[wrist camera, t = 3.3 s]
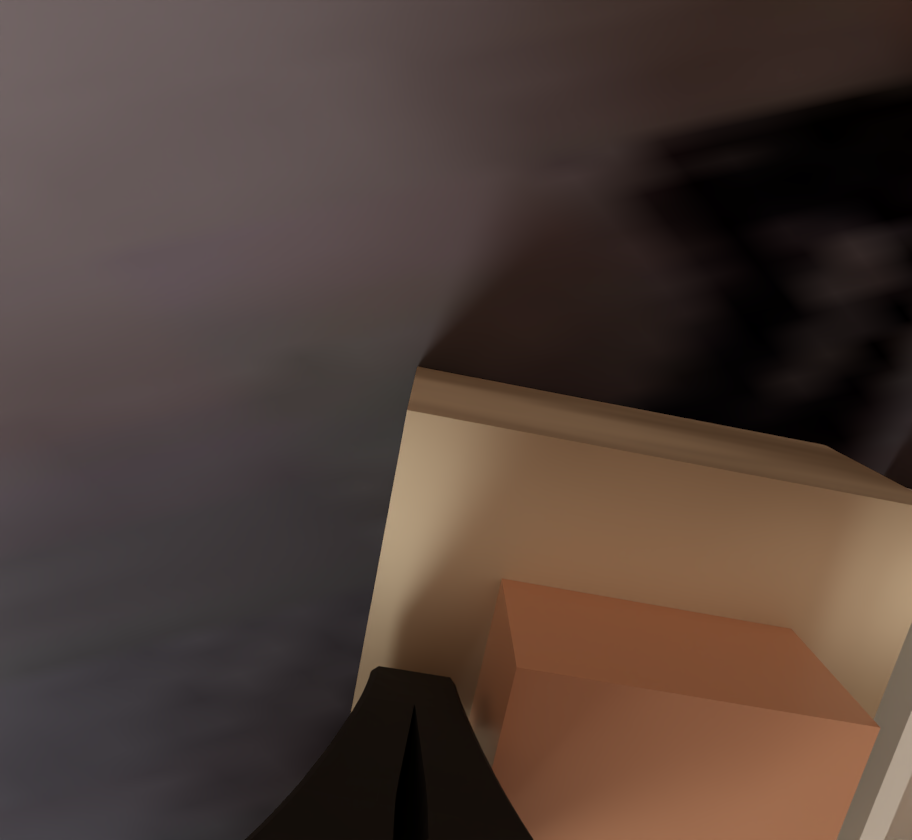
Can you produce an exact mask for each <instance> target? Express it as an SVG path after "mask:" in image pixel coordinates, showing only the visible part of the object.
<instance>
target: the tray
mask: <svg viewBox="0 0 912 840" xmlns="http://www.w3.org/2000/svg"><path fill="white" fill-rule="evenodd" d="M907 489H909V488H907ZM909 490H911V491H912V489H909ZM874 721H875V722H876V723H877V724H878V725H879V727H880V731H879V733H878V736H877V738H876V741H875V743H874V746H873V748H872V751H871V753H870V756H869V759H868V761H867V764H866V766H865V769H864V771H863V774H862V776H861V779H860V781H859V784H858V786H857V789H856V791H855V794H854V797H853V799H852V802H851V804H850V807H849V809H848V812H847V814H846V817H845V819H844V822H843V824H842V827H841V829H840V832H839V835H838V837H837V840H912V623H911V626H910V628H909V631H908V633H907V636H906V638H905V641H904V643H903V646H902V649H901V651H900V654H899V656H898V659H897V661H896V664H895V666H894V669H893V672H892V674H891V677H890V679H889V682H888V684H887V687H886V689H885V692H884V695H883V697H882V700H881V702H880V705H879V707H878V710H877V712H876V715H875V718H874Z"/></svg>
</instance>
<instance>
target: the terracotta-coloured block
mask: <svg viewBox="0 0 912 840" xmlns="http://www.w3.org/2000/svg"><path fill="white" fill-rule="evenodd" d="M469 722H470V724H471V726H472V729H473V731H474V733H475V735H476V738H477V740H478V742H479V744H480V746H481V748H482V750H483V752H484V754H485V756H486V758H487V760H488V762H489V764H490V766H491V768H492V770H493V772H494V774H495V776H496V777H497V779H498V781H499V783H500V785H501V787H502V788H503V790H504V792H505V794H506V795H507V797H508V799H509V801H510V802H511V804H512V806H513V807H514V809H515V811H516V812H517V814H518V816H519V817H520V819H521V821H522V822H523V824H524V825H525V827H526V828H527V830H528V832H529V833H530V835H531V836H532V838H533V839H534V840H837V837H838V835H839V832H840V829H841V827H842V824H843V822H844V819H845V817H846V814H847V812H848V809H849V807H850V804H851V802H852V799H853V797H854V794H855V791H856V789H857V786H858V784H859V781H860V779H861V776H862V774H863V771H864V769H865V766H866V764H867V761H868V759H869V756H870V753H871V751H872V748H873V746H874V743H875V741H876V738H877V736H878V733H879V731H880V727H879V725H878V724H877V723H876V722H875V721H874V720H873V719H872V718H871V717H870V715H869V714H868V713H867V712H866V711H865V710H864V709H863V708H862V707H861V705H860V704H859V703H858V702H857V701H856V700H855V699H854V698H853V697H852V695H851V694H850V693H849V692H848V691H847V690H846V689H845V688H844V687H843V686H842V684H841V683H840V682H839V681H838V680H837V679H836V678H835V677H834V676H833V674H832V673H831V672H830V671H829V670H828V669H827V668H826V667H825V666H824V664H823V663H822V662H821V661H820V660H819V659H818V658H817V657H816V656H815V654H814V653H813V652H812V651H811V650H810V649H809V648H808V647H807V646H806V644H805V643H804V642H803V641H802V640H801V639H800V638H799V637H798V636H797V635H796V633H795V632H794V631H793V630H792V629H789V628H784V627H778V626H772V625H766V624H761V623H755V622H749V621H743V620H738V619H732V618H726V617H721V616H715V615H709V614H703V613H698V612H692V611H686V610H680V609H675V608H669V607H663V606H657V605H652V604H646V603H640V602H634V601H629V600H623V599H617V598H611V597H606V596H600V595H594V594H589V593H583V592H577V591H571V590H566V589H560V588H554V587H548V586H543V585H537V584H531V583H525V582H520V581H514V580H508V579H501V583H500V588H499V592H498V596H497V601H496V605H495V609H494V614H493V618H492V622H491V627H490V631H489V635H488V639H487V644H486V648H485V652H484V657H483V661H482V665H481V670H480V674H479V678H478V683H477V687H476V691H475V696H474V700H473V704H472V708H471V713H470V717H469Z"/></svg>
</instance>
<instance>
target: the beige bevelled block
mask: <svg viewBox="0 0 912 840" xmlns="http://www.w3.org/2000/svg"><path fill="white" fill-rule="evenodd" d="M501 579H508V580H514V581H520V582H525V583H531V584H537V585H543V586H548V587H554V588H560V589H566V590H571V591H577V592H583V593H589V594H594V595H600V596H606V597H611V598H617V599H623V600H629V601H634V602H640V603H646V604H652V605H657V606H663V607H669V608H675V609H680V610H686V611H692V612H698V613H703V614H709V615H715V616H721V617H726V618H732V619H738V620H743V621H749V622H755V623H761V624H766V625H772V626H778V627H784V628H789V629H792V630H793V631H794V632H795V633H796V635H797V636H798V637H799V638H800V639H801V640H802V641H803V642H804V643H805V644H806V646H807V647H808V648H809V649H810V650H811V651H812V652H813V653H814V654H815V656H816V657H817V658H818V659H819V660H820V661H821V662H822V663H823V664H824V666H825V667H826V668H827V669H828V670H829V671H830V672H831V673H832V674H833V676H834V677H835V678H836V679H837V680H838V681H839V682H840V683H841V684H842V686H843V687H844V688H845V689H846V690H847V691H848V692H849V693H850V694H851V695H852V697H853V698H854V699H855V700H856V701H857V702H858V703H859V704H860V705H861V707H862V708H863V709H864V710H865V711H866V712H867V713H868V714H869V715H870V717H871V718H872V719H873V720H874V718H875V715H876V712H877V710H878V707H879V705H880V702H881V700H882V697H883V695H884V692H885V689H886V687H887V684H888V682H889V679H890V677H891V674H892V672H893V669H894V666H895V664H896V661H897V659H898V656H899V654H900V651H901V649H902V646H903V643H904V641H905V638H906V636H907V633H908V631H909V628H910V626H911V623H912V491H911V490H909V489H907V488H906V487H904V486H902V485H900V484H898V483H896V482H894V481H892V480H890V479H888V478H887V477H885V476H883V475H881V474H879V473H877V472H875V471H873V470H871V469H869V468H868V467H866V466H864V465H862V464H860V463H858V462H856V461H854V460H852V459H850V458H849V457H847V456H845V455H843V454H841V453H839V452H837V451H835V450H833V449H832V448H830V447H828V446H826V445H822V444H817V443H812V442H807V441H801V440H796V439H791V438H786V437H781V436H775V435H770V434H765V433H760V432H755V431H750V430H744V429H739V428H734V427H729V426H724V425H718V424H713V423H708V422H703V421H698V420H692V419H687V418H682V417H677V416H672V415H667V414H661V413H656V412H651V411H646V410H641V409H635V408H630V407H625V406H620V405H615V404H609V403H604V402H599V401H594V400H589V399H583V398H578V397H573V396H568V395H563V394H558V393H552V392H547V391H542V390H537V389H532V388H526V387H521V386H516V385H511V384H506V383H500V382H495V381H490V380H485V379H480V378H475V377H469V376H464V375H459V374H454V373H449V372H443V371H438V370H433V369H428V368H423V367H417V370H416V374H415V378H414V383H413V387H412V391H411V396H410V400H409V405H408V409H407V414H406V419H405V425H404V430H403V435H402V441H401V446H400V452H399V457H398V462H397V468H396V473H395V478H394V484H393V489H392V495H391V500H390V505H389V511H388V516H387V521H386V527H385V532H384V537H383V543H382V548H381V554H380V559H379V564H378V570H377V575H376V580H375V586H374V591H373V597H372V602H371V607H370V613H369V618H368V623H367V629H366V634H365V640H364V645H363V650H362V656H361V661H360V666H359V672H358V677H357V682H356V688H355V693H354V699H353V704H352V709H351V712H352V710H353V709H354V707H355V705H356V704H357V702H358V700H359V698H360V696H361V695H362V693H363V691H364V688H365V686H366V684H367V681H368V679H369V676H370V672H371V671H372V670H373V669H375V668H376V667H378V666H382V667H389V668H395V669H401V670H407V671H414V672H420V673H426V674H432V675H438V676H445V677H450V678H451V679H452V681H453V682H454V684H455V685H456V688H457V691H458V694H459V697H460V700H461V702H462V705H463V707H464V710H465V712H466V715H467V717H468V719H469V717H470V713H471V708H472V704H473V700H474V696H475V691H476V687H477V683H478V678H479V674H480V670H481V665H482V661H483V657H484V652H485V648H486V644H487V639H488V635H489V631H490V627H491V622H492V618H493V614H494V609H495V605H496V601H497V596H498V592H499V588H500V583H501Z"/></svg>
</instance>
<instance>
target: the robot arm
mask: <svg viewBox="0 0 912 840" xmlns="http://www.w3.org/2000/svg"><path fill="white" fill-rule="evenodd" d="M245 840H534V839H533V838H532V836H531V835H530V833H529V832H528V830H527V828H526V827H525V825H524V824H523V822H522V821H521V819H520V817H519V816H518V814H517V812H516V811H515V809H514V807H513V806H512V804H511V802H510V801H509V799H508V797H507V795H506V794H505V792H504V790H503V788H502V787H501V785H500V783H499V781H498V779H497V777H496V776H495V774H494V772H493V770H492V768H491V766H490V764H489V762H488V760H487V758H486V756H485V754H484V752H483V750H482V748H481V746H480V744H479V742H478V740H477V738H476V735H475V733H474V731H473V729H472V726H471V724H470V722H469V719H468V717H467V715H466V712H465V710H464V707H463V705H462V702H461V700H460V697H459V694H458V691H457V688H456V685H455V684H454V682H453V681H452V679H451V678H450V677H445V676H438V675H432V674H426V673H420V672H414V671H407V670H401V669H395V668H389V667H382V666H378V667H376V668H375V669H373V670H372V671H371V672H370V676H369V679H368V681H367V684H366V686H365V688H364V691H363V693H362V695H361V696H360V698H359V700H358V702H357V704H356V705H355V707H354V709H353V710H352V712H351V714H350V716H349V717H348V719H347V720H346V722H345V723H344V724H343V726H342V727H341V729H340V730H339V732H338V733H337V735H336V736H335V738H334V739H333V741H332V742H331V744H330V745H329V746H328V748H327V749H326V751H325V752H324V753H323V754H322V756H321V757H320V758H319V759H318V761H317V762H316V763H315V764H314V766H313V767H312V768H311V769H310V771H309V772H308V773H307V775H306V776H305V777H304V778H303V780H302V781H301V782H300V783H299V784H298V785H297V787H296V788H295V789H294V790H293V791H292V792H291V793H290V795H289V796H288V797H287V798H286V799H285V800H284V801H283V802H282V803H281V804H280V806H279V807H278V808H277V809H276V810H275V811H274V812H273V813H272V814H271V815H270V816H269V817H268V818H267V819H266V820H265V821H264V822H263V823H262V824H261V825H260V826H259V827H258V828H257V829H256V830H255V831H254V832H253V833H252V834H251V835H250V836H248V837H247V838H246V839H245Z"/></svg>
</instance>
